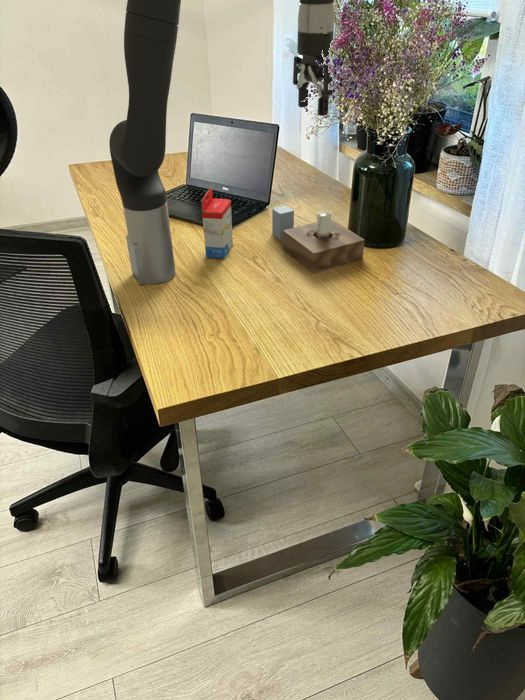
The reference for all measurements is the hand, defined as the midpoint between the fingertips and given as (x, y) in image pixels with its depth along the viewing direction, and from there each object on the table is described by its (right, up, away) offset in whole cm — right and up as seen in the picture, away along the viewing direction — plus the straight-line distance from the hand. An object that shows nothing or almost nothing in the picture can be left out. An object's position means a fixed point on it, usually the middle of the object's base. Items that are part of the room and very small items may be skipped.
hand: (312, 110), depth 123 cm
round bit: (+3, -31, +9) cm, 32 cm away
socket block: (+3, -31, +9) cm, 32 cm away
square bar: (-6, -24, +18) cm, 31 cm away
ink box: (-22, -30, +11) cm, 39 cm away
